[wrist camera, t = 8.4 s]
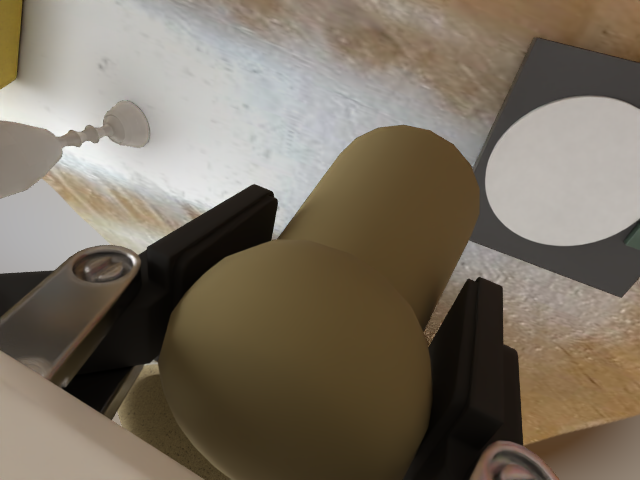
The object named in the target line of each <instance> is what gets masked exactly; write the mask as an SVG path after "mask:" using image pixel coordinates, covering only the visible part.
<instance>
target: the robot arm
mask: <svg viewBox="0 0 640 480" xmlns="http://www.w3.org/2000/svg"><path fill="white" fill-rule="evenodd" d="M277 206H278V200H277V199H276V198H274V193H273V192H272V191H270V190H268V189H265V188H263V187H260V186H258V185H255V184H253V185H251V186H249V187H248V188H246V189H244V190H243V191H241V192H239V193H238V194H236V195H234V196H232V197H231V198H229V199H227V200H226V201H224V202H222V203H221V204H219V205H217V206H216V207H214V208H212V209H211V210H209V211H207V212H206V213H204V214H202V215H200V216H199V217H197V218H195V219H194V220H192V221H190V222H189V223H187V224H185V225H184V226H182V227H180V228H179V229H177V230H175V231H173V232H172V233H170V234H168V235H167V236H165V237H163V238H162V239H160V240H158V241H157V242H155V243H153V244H152V245H150V246H148V247H147V250H146V251H144V252H142V253H141V254H139V255H137V254H136V253H135V252H133V251H132V250H130V249H128V248H125V247H122V246H115V245H100V246H95V247H90V248H86V249H84V250H81V251H79V252H77V253H75V254H74V255H73V256H71V257H69V258H68V259H67V260H66V261H65V262H64V263H63V264H61V265H60V266H59V267H58V268H57V269H56V270H54V271H41V272H40V271H39V272H23V273H5V274H0V480H204V479H203V478H201V477H200V476H198V475H197V474H195V473H194V472H192V471H190V470H189V469H187V468H186V467H184V466H183V465H181V464H179V463H178V462H176V461H175V460H173V459H172V458H170V457H168V456H167V455H165V454H164V453H162V452H161V451H159V450H157V449H156V448H154V447H153V446H151V445H150V444H148V443H146V442H145V441H143V440H142V439H140V438H139V437H137V436H136V435H134V434H132V433H131V432H129V431H128V430H126V429H125V428H123V427H121V426H120V425H118V424H117V423H115V422H114V421H112V419H113V417H114V416H115V414H116V412H117V411H118V409H119V407H120V406H121V404H122V402H123V401H124V399H125V397H126V396H127V394H128V392H129V391H130V389H131V387H132V386H133V384H134V382H135V381H136V379H137V377H138V376H139V374H140V372H141V371H142V369H143V367H144V365H145V364H149V363H151V362H152V361H153V360H155V361H157V362H158V360H159V356H160V352H161V348H162V345H163V341H164V337H165V334H166V330H167V326H168V323H169V319H170V315H171V313H172V311H173V310H174V308H175V307H176V306H177V304H178V303H179V301H180V300H181V299H182V297H183V296H184V294H185V293H186V292H187V291H188V290H189V289H190V288H191V286H192V285H193V284H194V283H195V282H196V281H197V280H198V279H199V278H200V277H201V276H202V275H203V274H204V273H205V272H207V271H208V270H209V269H210V268H212V267H213V266H214V265H216V264H217V263H218V262H220V261H221V260H222V259H224V258H225V257H227V256H230V255H233V254H235V253H238V252H241V251H243V250H246V249H249V248H252V247H255V246H258V245H260V244H263V243H266V242H269V241H271V239H272V233H273V228H274V222H275V217H276V211H277ZM428 349H429V355H430V362H431V376H432V391H433V402H432V408H431V414H430V420H429V427H428V429H427V431H426V433H425V435H424V438H423V440H422V442H421V444H420V446H419V449H418V451H417V453H416V455H415V457H414V459H413V461H412V463H411V465H410V467H409V468H408V470H407V472H406V474H405V476H404V478H403V479H402V480H559V478H558V477H557V476H556V475H555V473H554V472H553V471H552V469H551V468H550V467H549V466H548V465H547V464H546V463H545V462H544V461H543V460H542V459H541V458H539V457H538V456H537V455H536V454H535V453H533V452H532V451H530V450H528V449H527V448H525V447H524V446H523V434H522V417H521V399H520V382H519V364H518V354H517V351H516V350H515V349H513V348H511V347H508V346H506V345H504V344H503V288H502V286H500V285H498V284H495V283H493V282H491V281H488V280H486V279H483V278H481V277H478V278H477V279H476V281H473V280H471V279H468V280H467V281H466V282H465V284H464V286H463V288H462V289H461V291H460V293H459V295H458V296H457V298H456V300H455V302H454V303H453V305H452V307H451V309H450V310H449V312H448V314H447V316H446V317H445V319H444V321H443V323H442V324H441V326H440V328H439V330H438V332H437V333H436V335H435V337H434V339H433V340H432V342H431V344H430V346H429V347H428Z"/></svg>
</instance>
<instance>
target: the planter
mask: <svg viewBox="0 0 640 480" xmlns="http://www.w3.org/2000/svg"><path fill="white" fill-rule="evenodd" d="M118 415H119V419H120V422H121V425H122V427H123V428H125V429H126V430H128V431H129V432H131V433H132V434H134V435H136V436H137V437H139V438H140V439H142V440H143V441H145V442H146V443H148V444H150V445H151V446H153V447H154V448H156V449H157V450H159V451H161V452H162V453H164V454H165V455H167V456H168V457H170V458H172V459H173V460H175V461H176V462H178V463H179V464H181V465H183V466H184V467H186V468H187V469H189V470H190V471H192V472H194V473H195V474H197V475H198V476H200V477H201V478H203V479H204V480H231V479H230V478H229V477H227V476H226V475H225V474H223V473H222V472H221V471H219V470H218V469H217V468H215V467H214V466H213V465H212V464H211V463H210V462H209V461H208V460H207V459H206V458H205V457H204V456H203V455H202V454H201V453H200V452H199V451H198V450H197V449H196V448H195V447H194V446H193V444H192V443H191V442H190V440H189V439H188V438H187V436H186V435H185V433H184V432H183V431H182V429H181V428H180V427H179V425H178V424H177V422H176V420H175V418H174V416H173V413H172V411H171V409H170V407H169V405H168V403H167V400H166V397H165V395H164V392H163V389H162V386H161V380H160V373H159V366H158V362H157V361H155V360H153V361H152V362H151V363H149V364H145V365H144V367H143V369H142V371H141V372H140V374H139V376H138V377H137V379H136V381H135V382H134V384H133V386H132V387H131V389H130V391H129V392H128V394H127V396H126V397H125V399H124V401H123V402H122V404H121V406H120V407H119V409H118Z"/></svg>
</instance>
